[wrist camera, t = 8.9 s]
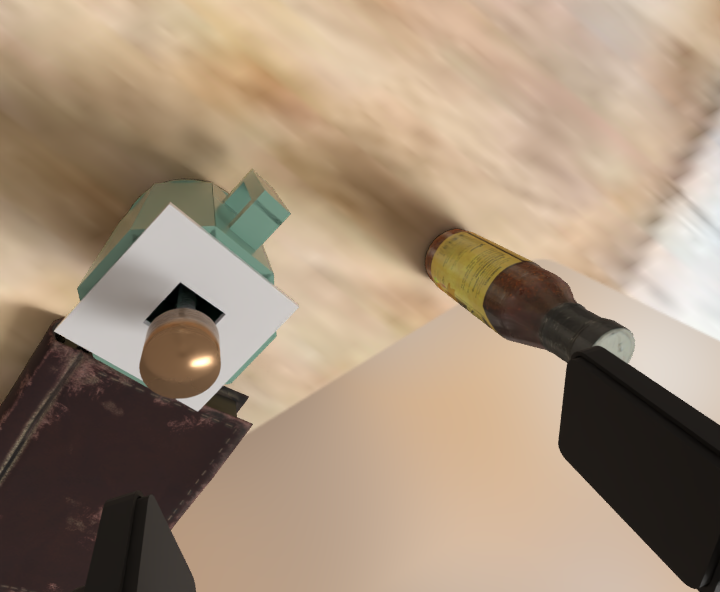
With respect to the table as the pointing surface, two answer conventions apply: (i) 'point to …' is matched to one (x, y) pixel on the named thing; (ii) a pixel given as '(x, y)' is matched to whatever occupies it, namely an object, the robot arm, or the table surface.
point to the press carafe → (185, 275)
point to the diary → (94, 459)
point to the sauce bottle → (519, 297)
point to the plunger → (181, 348)
